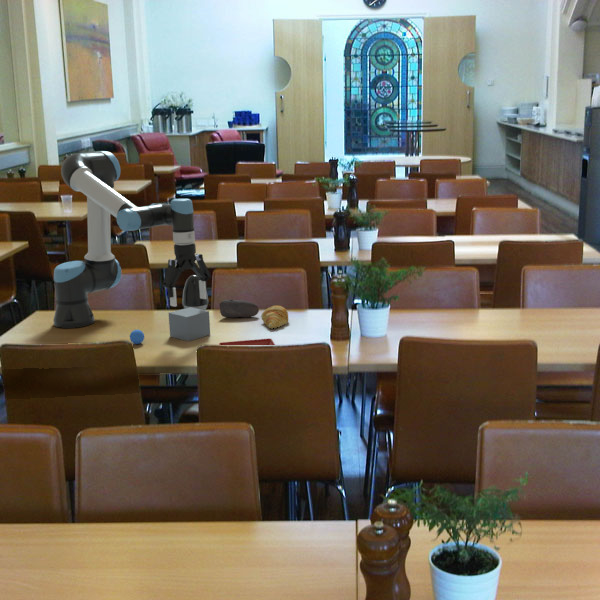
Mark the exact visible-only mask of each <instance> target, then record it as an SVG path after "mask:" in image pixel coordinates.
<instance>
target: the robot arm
mask: <svg viewBox="0 0 600 600" xmlns="http://www.w3.org/2000/svg"><path fill="white" fill-rule="evenodd" d="M60 174H61V176H62V179H63V182H64V184H66V185H67V186H68V187H69V188H70V189H72V190H73V191H74V192H80V193H82V194H83V195H84V196H86V199H87V200H86V207H87V210H86V211H87V213H86V214H87V253H86V254H85V255H84V257H83V258H84V260H72V261H67V262H63V263H61V264H58V265H57V266H56V267H55V268H54V270H53V281H54V291H55V292H54V293H55V300H56V301H55V302H56V306H55V312H54V315H53V326H54V327H55V326H56V328H59V327H62V328H61V329H74V328H75V327H77V328H83V327H87V326H91V325H92V324H94V323H95V315H94V313H93V311H92V308H91V306H90V304H89V299H88V294H91V293H96V292H100V291H106V290H109V289H112V288H114V287H116V286H117V285H118V284H119V282H120V281H121V278H122V268H121V266H120V262H119V261H118V260H117V259H116V256H115V255H114V254H113V253H112V250H111V249H112V245H111V240H112V239H111V237H112V236H111V229H112V228H111V216H112V217H114V218H115V219H116V223H117V225H118V227H119V229H120V230H122V231H124V232H129V231H130V232H131V231H132V232H134V231H139V230H144V229H147V228H154V227H159V226H170V227H171V226H172V240H173V241H172V242H173V243H174V245H173V253H174V255H175V259H170V258H169V259H168V261H167V268H166V272H165V275H164V278H163V282H162V284H161V285H162V286H161V287H163V288H167V296H168V298H169V305H170V306H171V307H175V308H176V307H178V304H177V303H178V302H177V290H176V289H177V288H176V287H175V286H176V284H177V281H178V280H179V278H180V276H181V274H182V273H183V272H184V271H187V270H192V271H193V272H194V273H195V275H197V276H198V277H199V278H200V279H201V280H200V281H199V290H200V298H201V299H207V298H206V292H207V289H208V285H207V284H208V281H209V280H210V279H211V277H212V275H211V273H210V271H209V268H208V267H207V265H206V262H205V261H204V257H203V254H201V253H197V249H196V248H197V247H196V246H197V245H196V243H195V242H196V236H195V235H196V234H195V220H194V218H195V217H194V212H195V211H194V206H193V205H194V204H193V201H192V200H191V199H190V198H174V199H172V200H171V201H170V203H162V202H156V203H151V204H150V205H144V206H137V205H136V204H134V202H131V201H130V200H128V199H127V198H126V197H125V196H122V194H121V193H119V192H117V191H116V190H115V189H114V188H115V182H117V181H118V180H119V178H120V176H121V166H120V162H119V160H118V159H117V157H116V155H114V153H112V152H110V151H106V150H96V151H88V152H87V151H86V152H79V153H78V152H77V153H73V154H70V155H68V156H67V157H66V158H65V160H64V161H63V162H62V164H61V169H60ZM75 329H76V328H75Z"/></svg>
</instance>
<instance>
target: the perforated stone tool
mask: <svg viewBox="0 0 600 600" xmlns="http://www.w3.org/2000/svg"><path fill="white" fill-rule="evenodd" d="M219 313H220V315H221V316H222V317H224V318H231V319H232V318H233V319H235V318H236V319H239V318H238V317H244V318H252V317H251V316H253V317H255V316H256V315H258V314H259V307H258V305H257V304H255V303H253V302H251V301H247V300H240V299H239V300H238V299H222V300H221V301H220V303H219Z"/></svg>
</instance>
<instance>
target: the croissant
mask: <svg viewBox="0 0 600 600" xmlns="http://www.w3.org/2000/svg"><path fill="white" fill-rule="evenodd" d="M260 315H261V316H260V317H261V320H262V321H263V324H265V326H267V327H268V329H270V328H271V330H273V328H274V329H278V328H281V327H283V326H282V325H284V324H285V325H287V324H288V323H289V313H288V310H287V309H286V308H285V307H283V306H281V305H279V304H277V305H276V304H275V305H272V306H269V307H267V308H266V309H264V311H263V312H262V313H261V314H260ZM286 323H287V324H286ZM285 325H284V326H285ZM280 326H281V327H280ZM277 327H278V328H277Z"/></svg>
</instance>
